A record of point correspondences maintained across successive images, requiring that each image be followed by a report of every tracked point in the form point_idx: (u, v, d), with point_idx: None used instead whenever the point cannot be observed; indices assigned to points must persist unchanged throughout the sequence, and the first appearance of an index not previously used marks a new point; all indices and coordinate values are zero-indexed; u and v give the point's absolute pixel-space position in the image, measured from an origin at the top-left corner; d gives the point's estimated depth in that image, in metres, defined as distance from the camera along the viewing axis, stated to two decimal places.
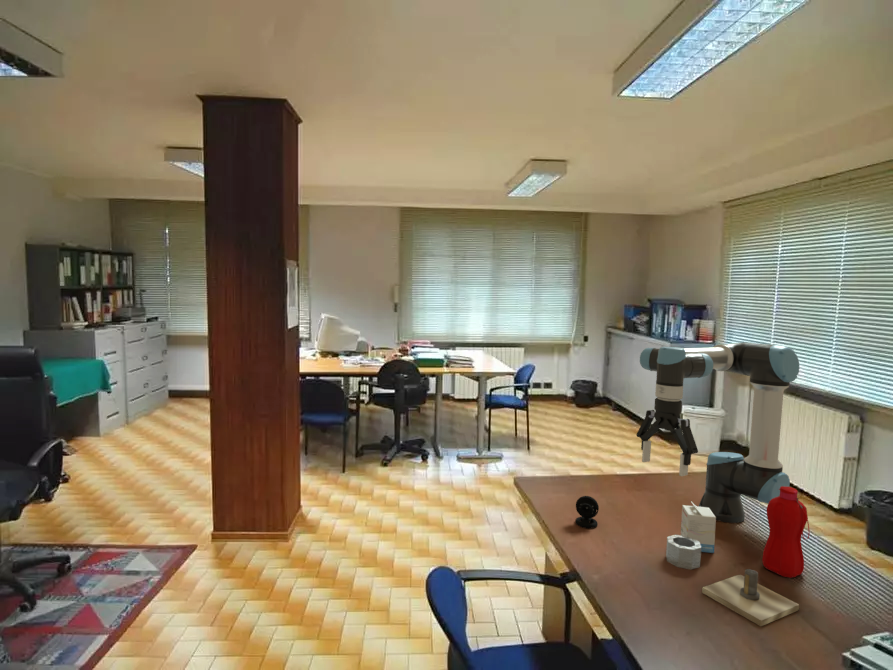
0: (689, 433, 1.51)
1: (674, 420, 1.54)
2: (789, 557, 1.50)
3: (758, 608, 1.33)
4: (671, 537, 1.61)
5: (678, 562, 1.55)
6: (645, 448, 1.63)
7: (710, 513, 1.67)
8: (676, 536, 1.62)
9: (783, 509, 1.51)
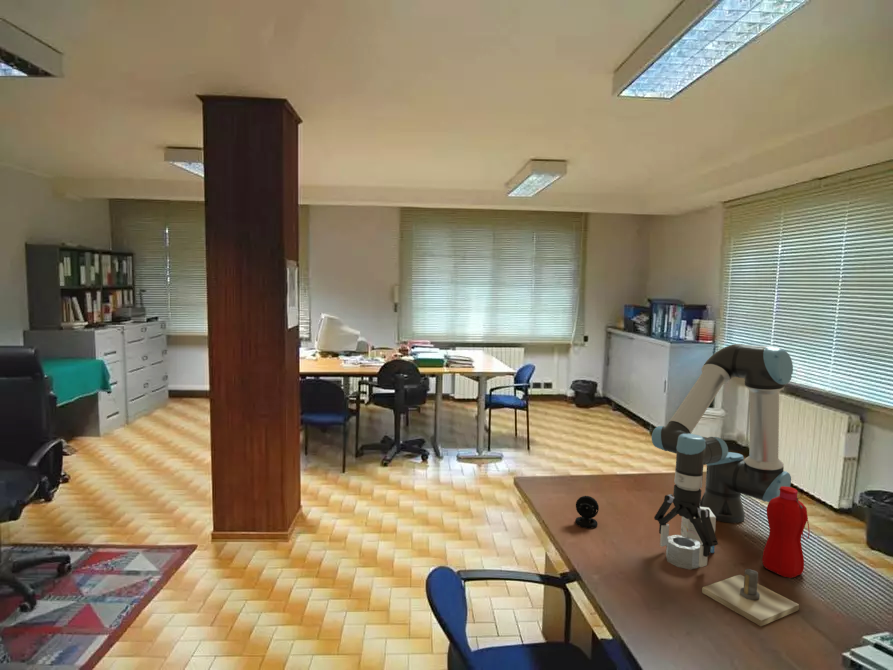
0: (709, 524, 1.51)
1: (694, 509, 1.54)
2: (789, 557, 1.50)
3: (758, 608, 1.33)
4: (671, 537, 1.61)
5: (678, 562, 1.55)
6: (663, 532, 1.63)
7: (710, 513, 1.67)
8: (676, 536, 1.62)
9: (783, 509, 1.51)
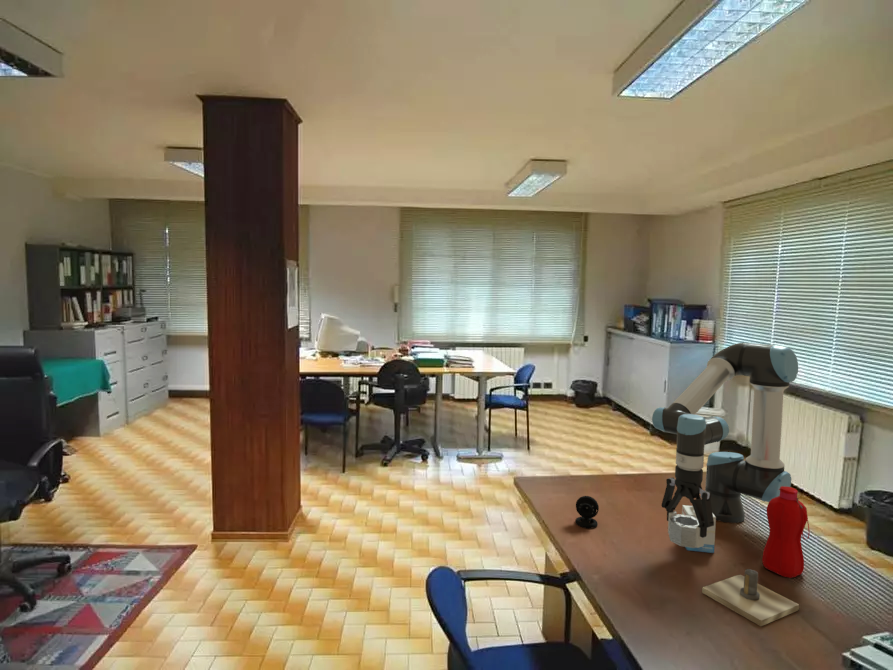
0: (708, 506, 1.51)
1: (695, 490, 1.54)
2: (789, 557, 1.50)
3: (758, 608, 1.33)
4: (673, 517, 1.61)
5: (681, 541, 1.55)
6: None
7: None
8: (679, 515, 1.62)
9: (783, 509, 1.51)
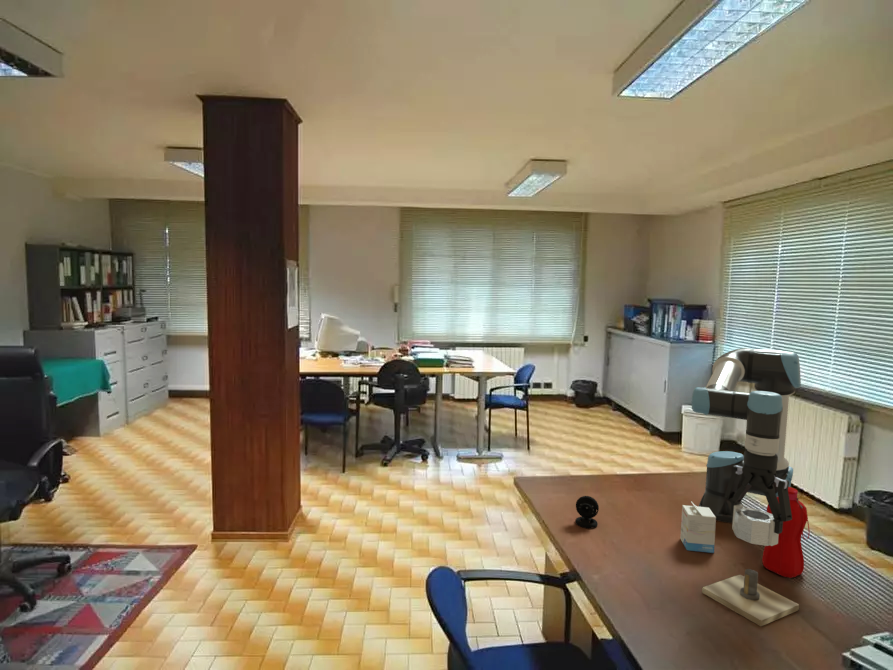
0: (786, 497, 1.30)
1: (770, 478, 1.32)
2: (789, 557, 1.50)
3: (758, 608, 1.33)
4: (740, 510, 1.39)
5: (751, 537, 1.33)
6: None
7: (710, 513, 1.67)
8: (745, 509, 1.40)
9: None
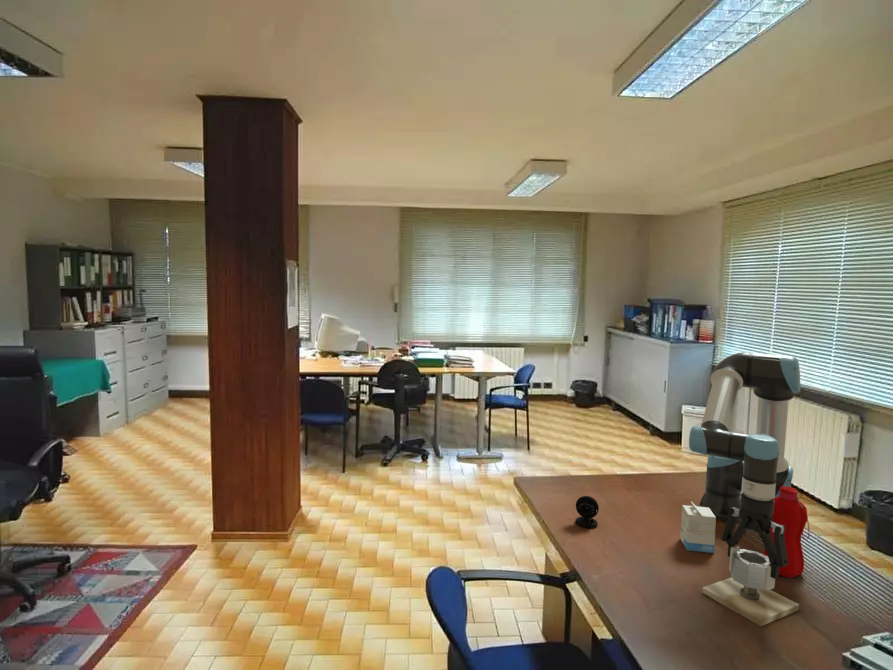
0: (782, 543, 1.31)
1: (766, 523, 1.33)
2: (789, 557, 1.50)
3: (758, 608, 1.33)
4: (736, 552, 1.40)
5: (748, 581, 1.34)
6: None
7: (710, 513, 1.67)
8: (742, 551, 1.41)
9: (783, 509, 1.51)
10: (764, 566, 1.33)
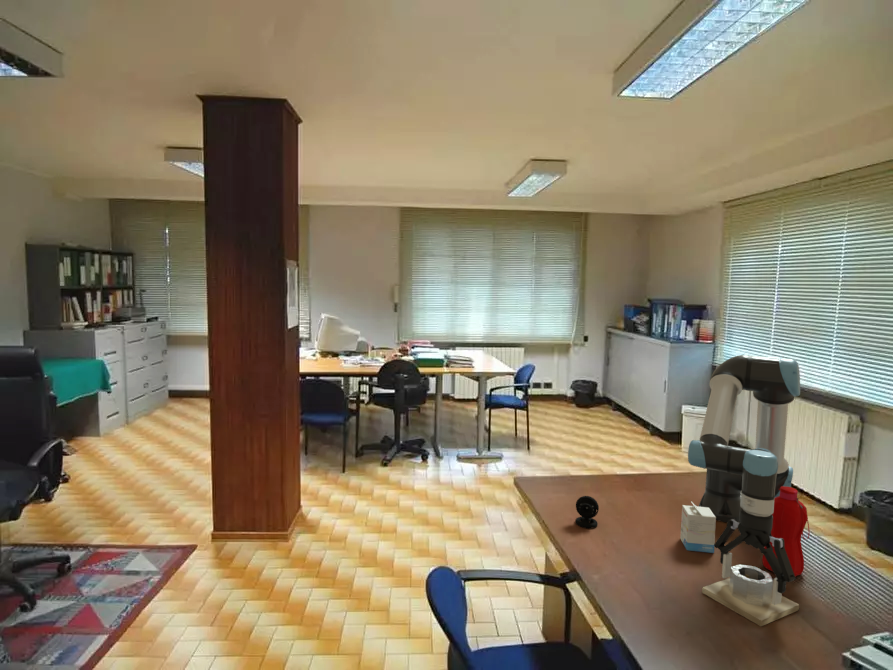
0: (784, 556, 1.30)
1: (765, 538, 1.33)
2: (789, 557, 1.50)
3: (758, 608, 1.33)
4: (735, 567, 1.41)
5: (746, 598, 1.35)
6: (726, 562, 1.43)
7: (710, 513, 1.67)
8: (741, 566, 1.42)
9: (783, 509, 1.51)
10: (763, 582, 1.34)
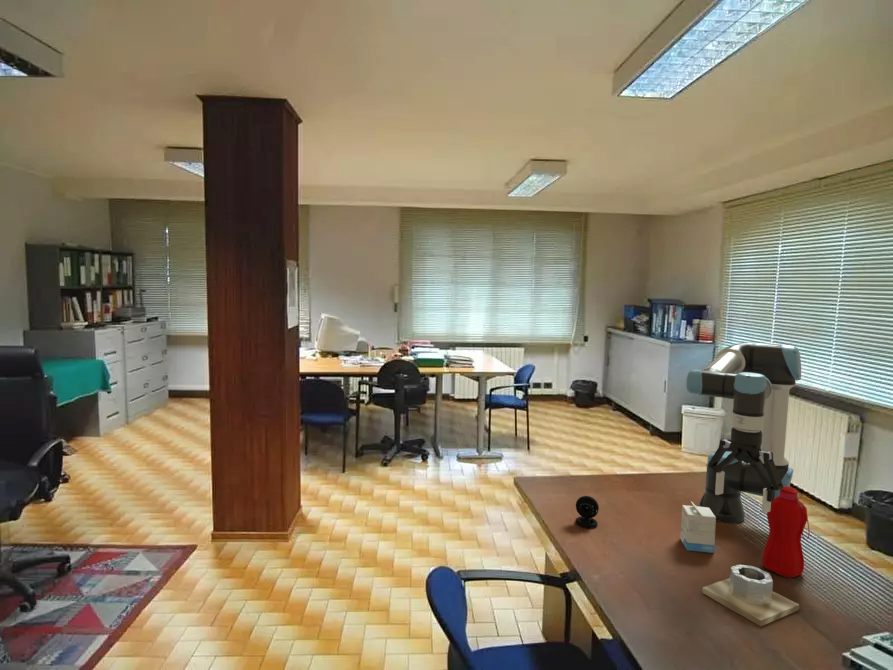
0: (773, 467, 1.40)
1: (755, 453, 1.43)
2: (789, 557, 1.50)
3: (758, 608, 1.33)
4: (735, 567, 1.41)
5: (746, 598, 1.35)
6: (719, 480, 1.52)
7: (710, 513, 1.67)
8: (741, 566, 1.42)
9: (783, 509, 1.51)
10: (763, 582, 1.34)
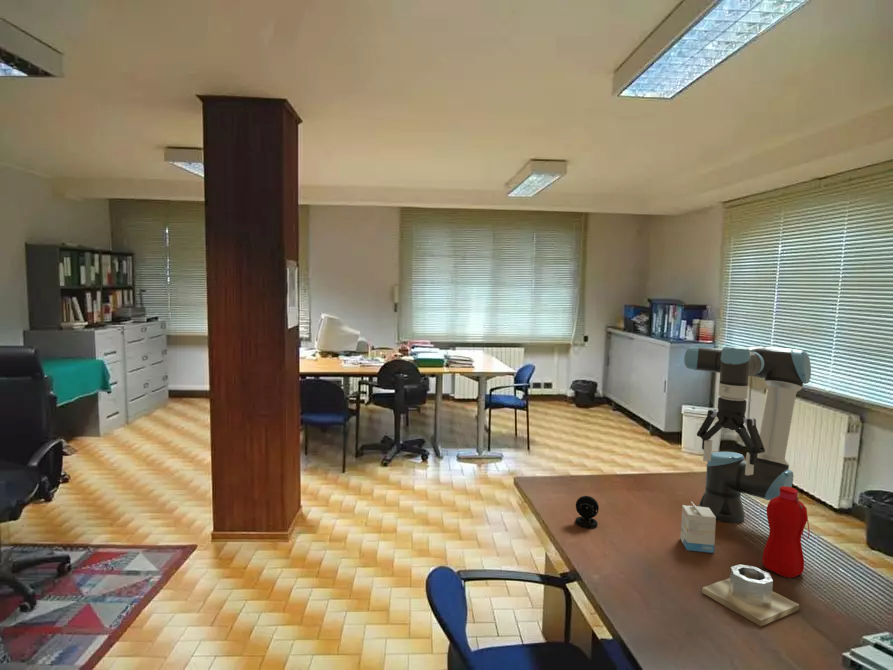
0: (755, 432, 1.51)
1: (739, 419, 1.54)
2: (789, 557, 1.50)
3: (758, 608, 1.33)
4: (735, 567, 1.41)
5: (746, 598, 1.35)
6: (706, 447, 1.64)
7: (710, 513, 1.67)
8: (741, 566, 1.42)
9: (783, 509, 1.51)
10: (763, 582, 1.34)
